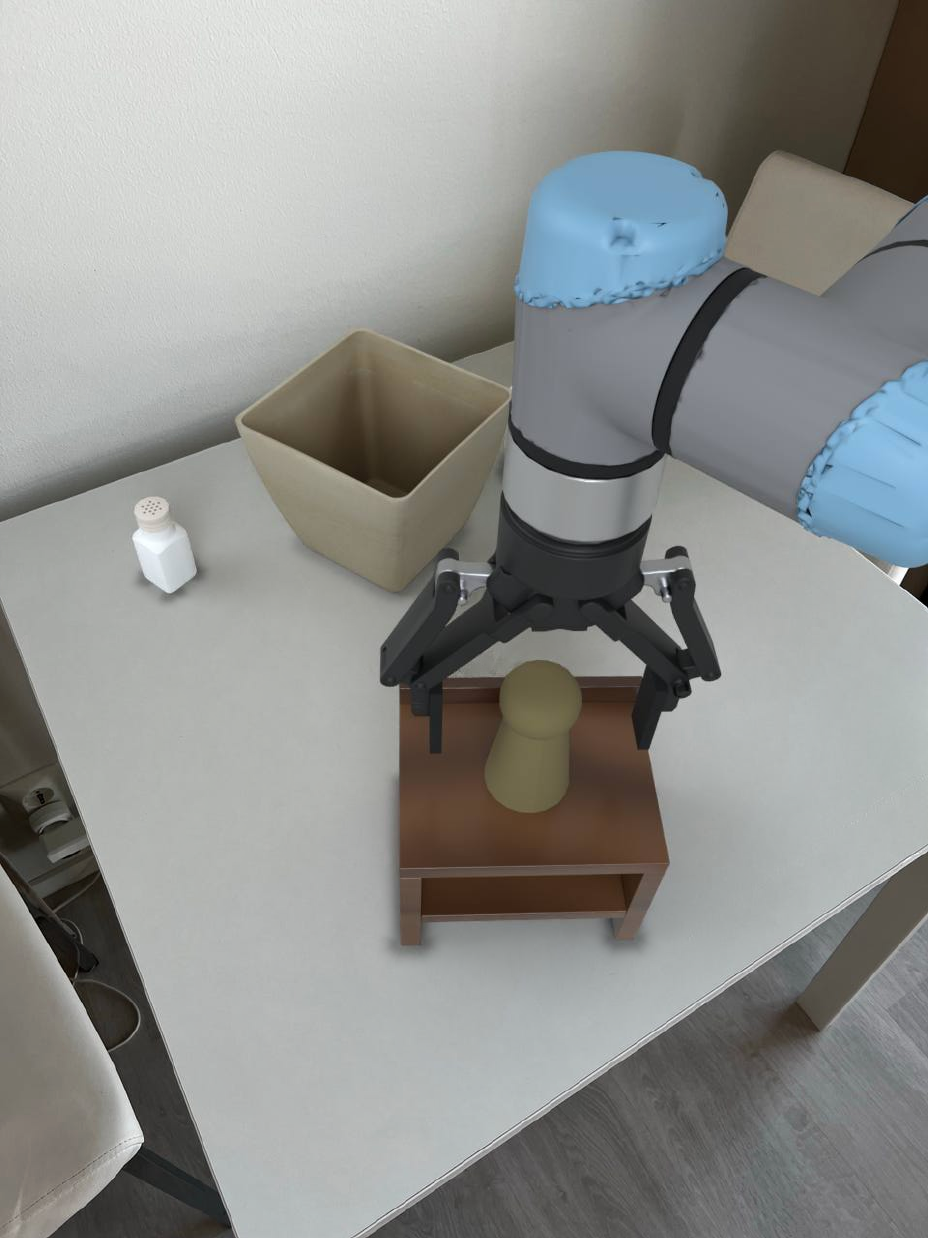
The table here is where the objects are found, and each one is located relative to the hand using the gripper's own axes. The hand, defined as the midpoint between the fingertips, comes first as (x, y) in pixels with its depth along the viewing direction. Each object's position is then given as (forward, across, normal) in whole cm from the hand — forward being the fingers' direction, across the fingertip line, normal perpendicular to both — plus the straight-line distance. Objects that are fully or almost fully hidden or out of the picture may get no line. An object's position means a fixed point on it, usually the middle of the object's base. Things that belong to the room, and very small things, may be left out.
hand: (538, 734), depth 63 cm
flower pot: (+19, +11, -37) cm, 43 cm away
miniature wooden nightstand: (+19, 0, 0) cm, 19 cm away
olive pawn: (+6, 0, 0) cm, 6 cm away
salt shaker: (+18, +32, -31) cm, 49 cm away
